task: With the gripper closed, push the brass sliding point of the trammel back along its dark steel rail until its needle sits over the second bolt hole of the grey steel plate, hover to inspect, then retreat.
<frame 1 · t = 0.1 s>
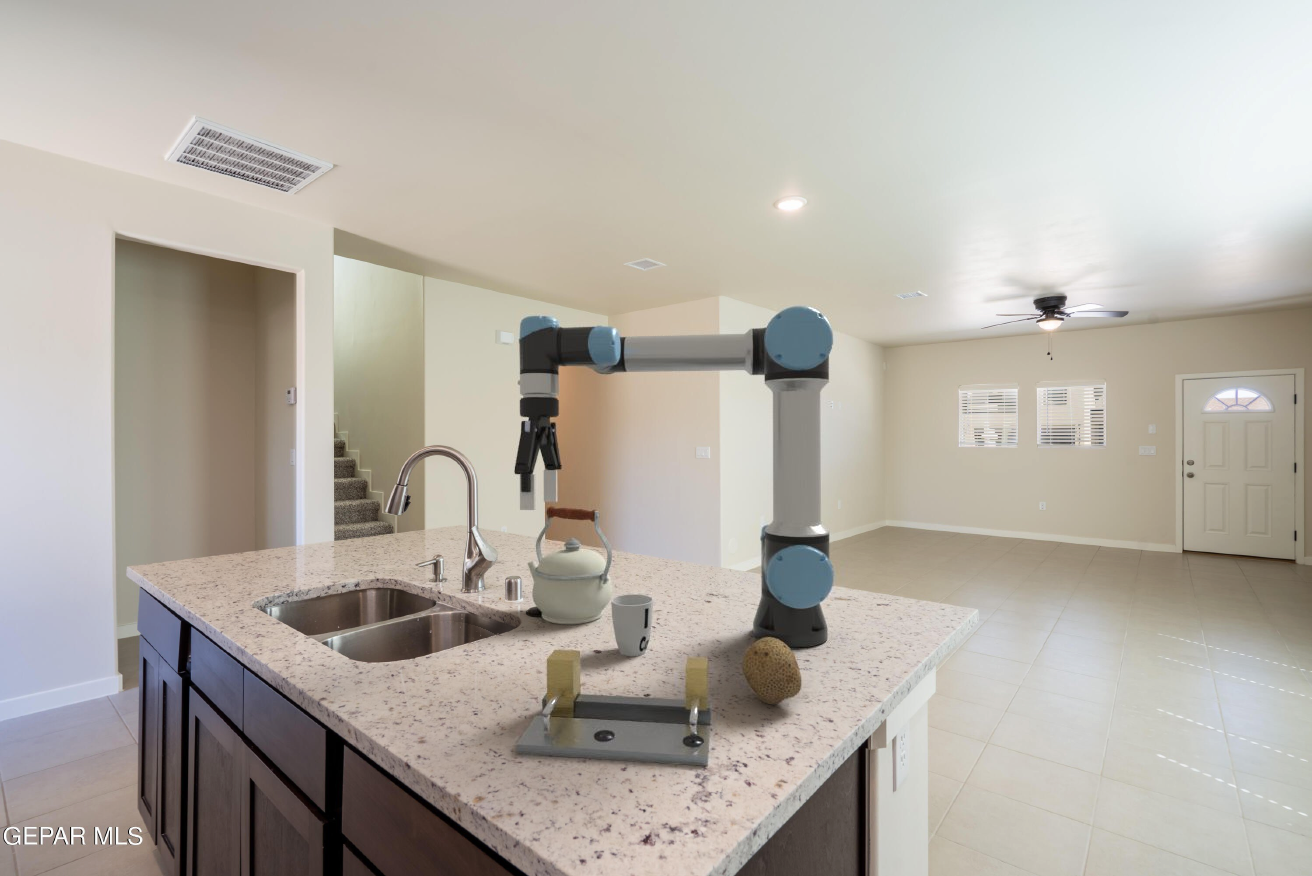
hand: (539, 505, 118), 28 cm above the worktop, fingers open, 13 cm apart
kettle: (567, 615, 140), on the worktop
sliding point: (557, 691, 87), point 5 cm above the worktop, slide at 8.0 cm
cup: (632, 652, 116), on the worktop
natural sponge: (770, 702, 94), on the worktop
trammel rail: (626, 716, 89), on the worktop
bolt plate: (615, 743, 81), on the worktop
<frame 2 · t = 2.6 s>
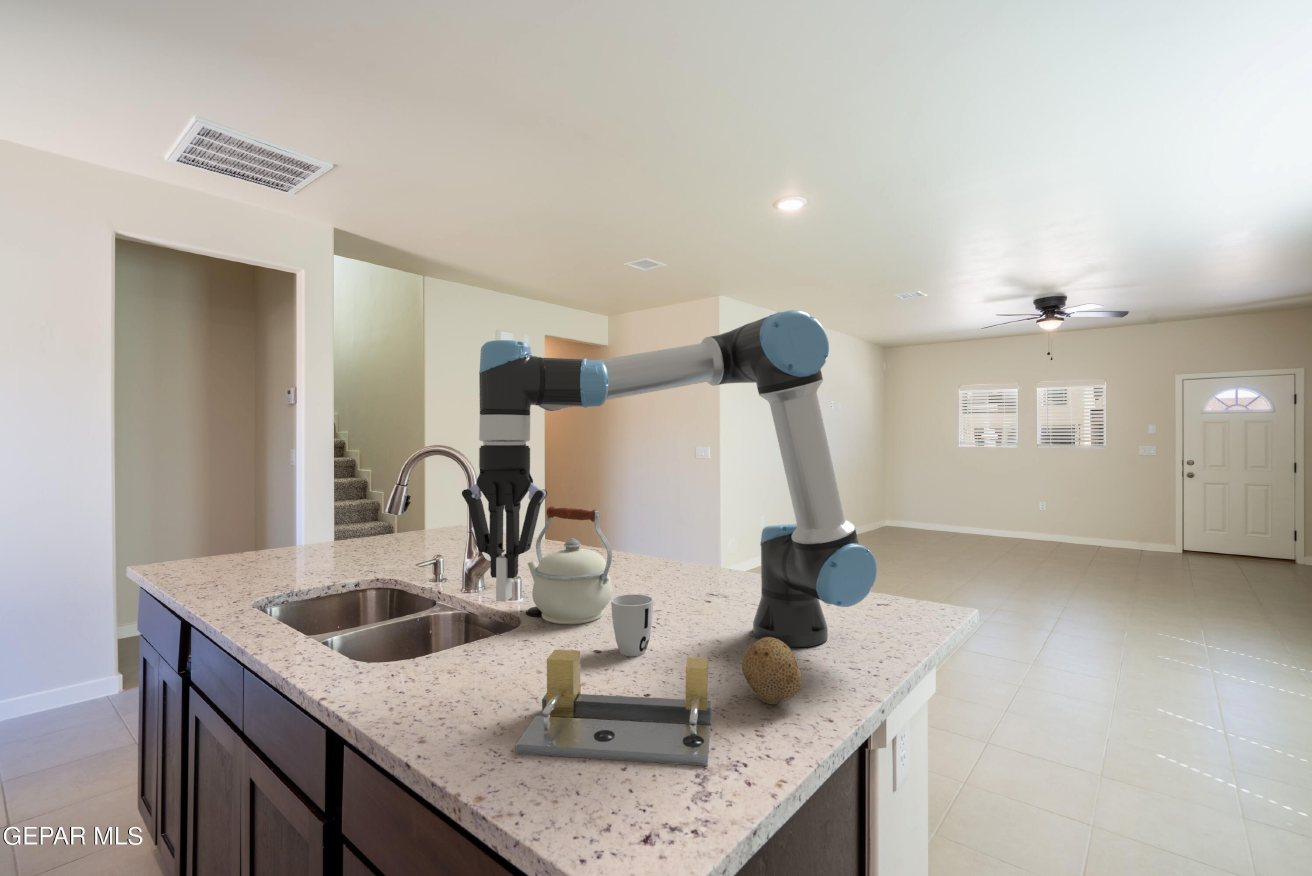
hand: (504, 598, 91), 17 cm above the worktop, fingers closed
nothing on the worktop moved.
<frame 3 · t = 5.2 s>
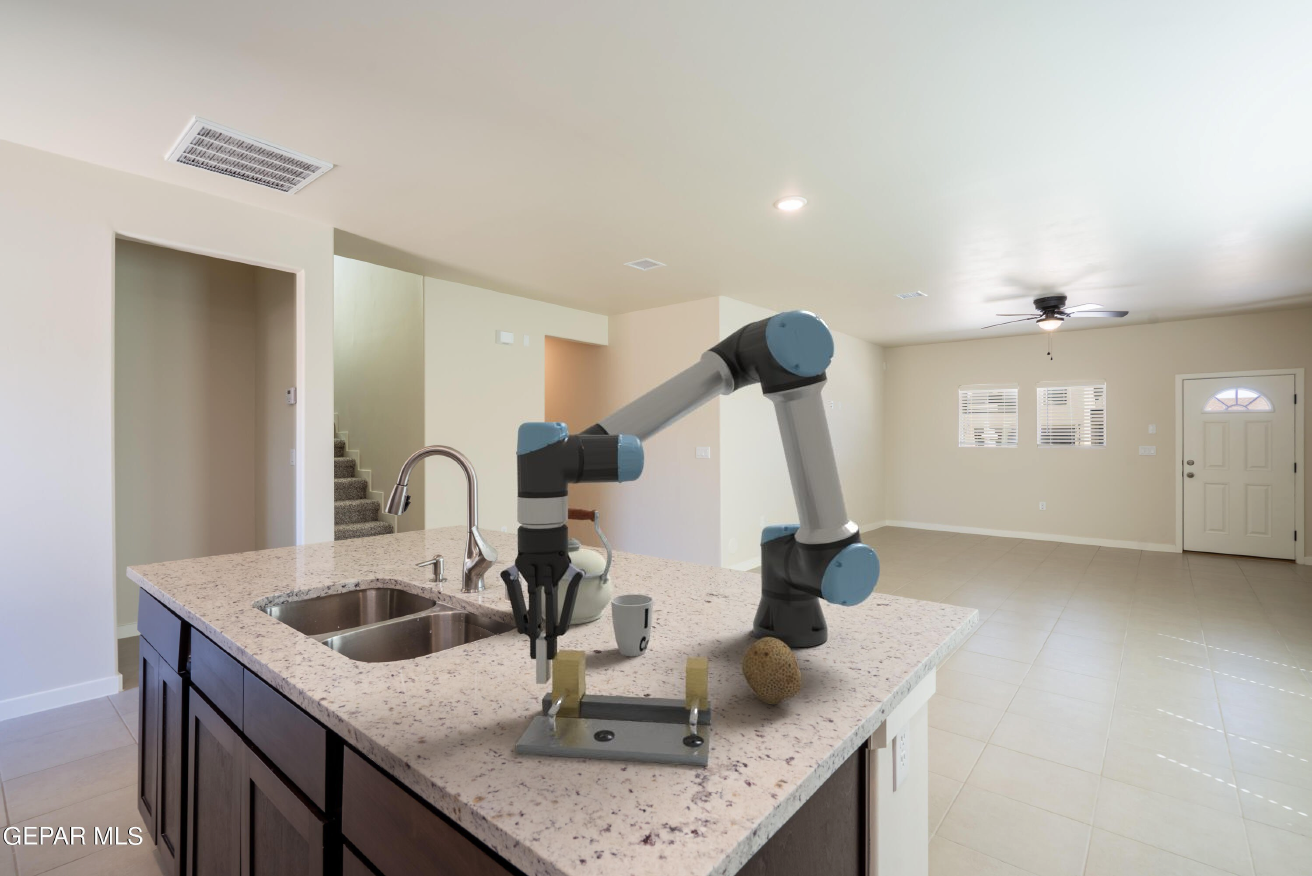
hand: (543, 679, 91), 5 cm above the worktop, fingers closed
sliding point: (562, 691, 87), point 5 cm above the worktop, slide at 7.2 cm, touching gripper
everything else where it was.
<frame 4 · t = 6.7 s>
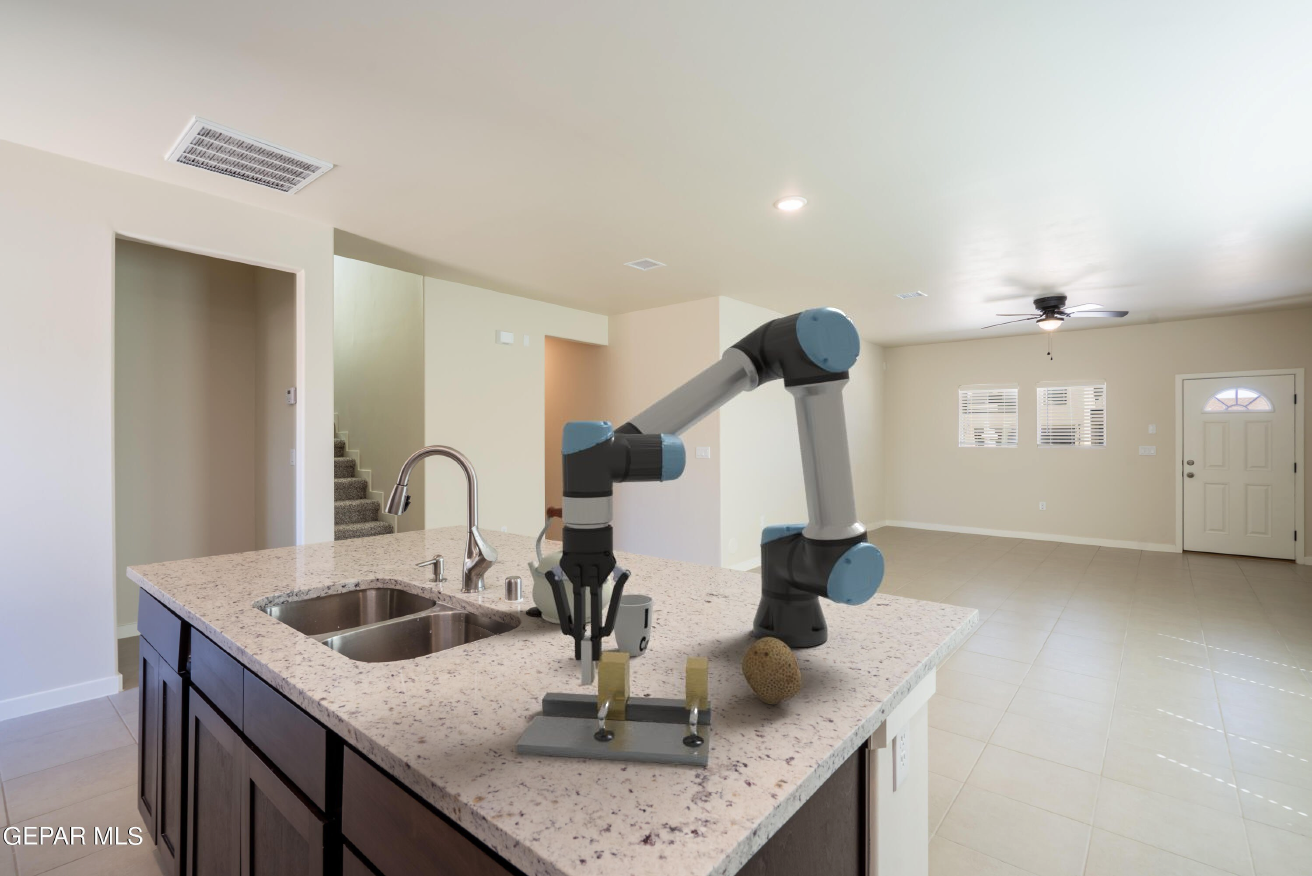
hand: (588, 681, 90), 5 cm above the worktop, fingers closed
sliding point: (609, 694, 86), point 5 cm above the worktop, slide at 0.3 cm, touching gripper
everything else where it was.
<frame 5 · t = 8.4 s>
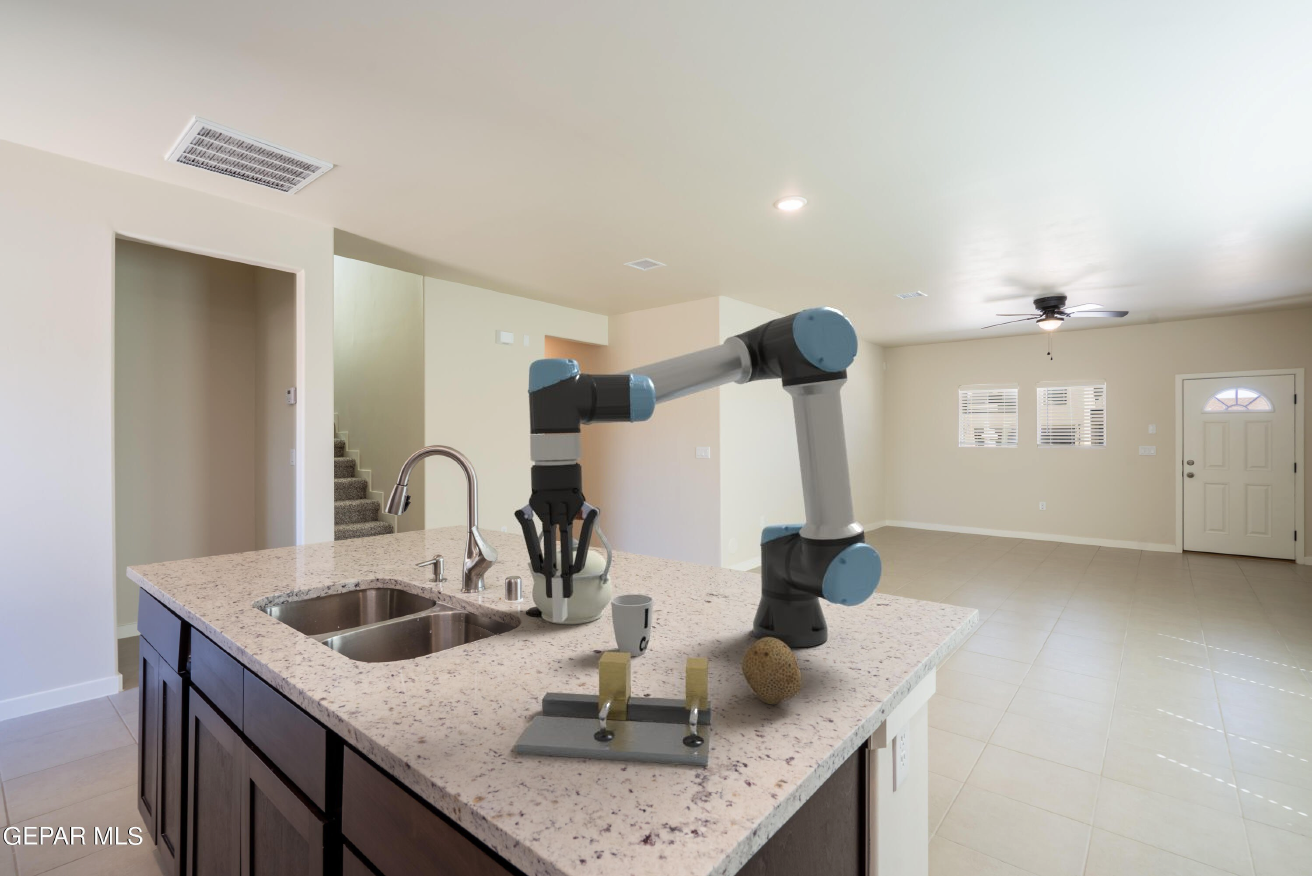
hand: (560, 618, 91), 14 cm above the worktop, fingers closed
sliding point: (610, 694, 86), point 5 cm above the worktop, slide at 0.2 cm
everything else where it was.
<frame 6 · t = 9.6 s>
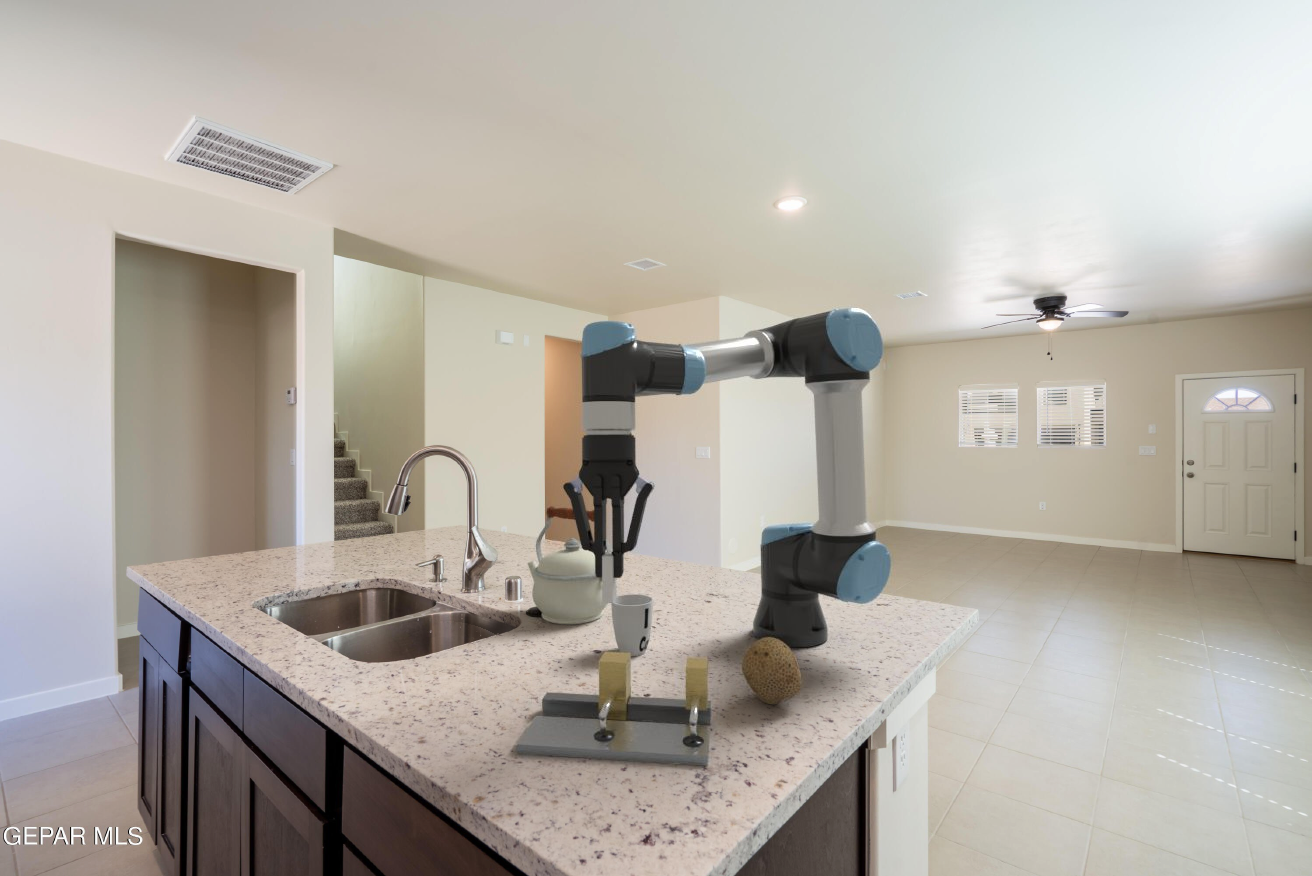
hand: (609, 600, 85), 18 cm above the worktop, fingers closed
nothing on the worktop moved.
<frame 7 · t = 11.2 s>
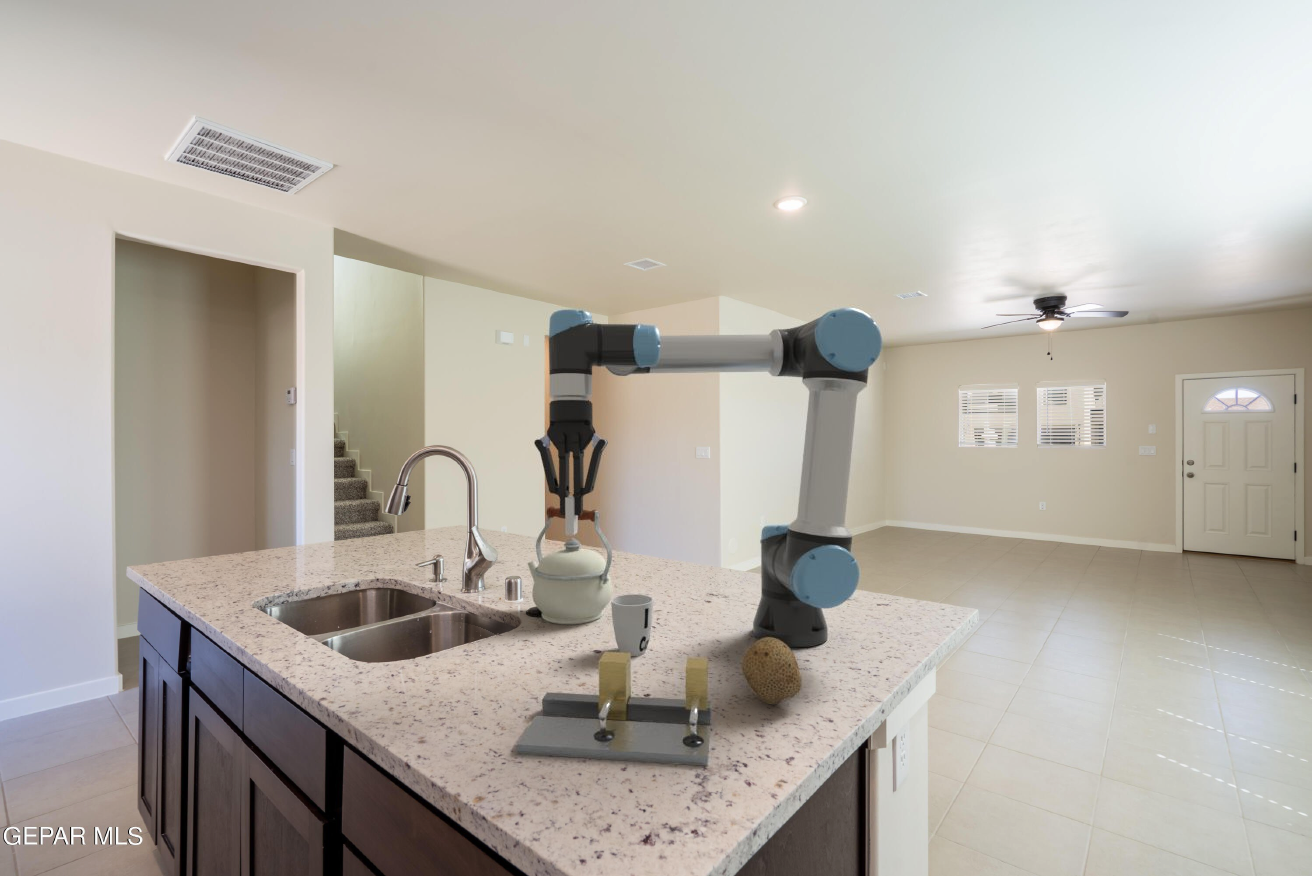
hand: (571, 533, 106), 24 cm above the worktop, fingers closed
nothing on the worktop moved.
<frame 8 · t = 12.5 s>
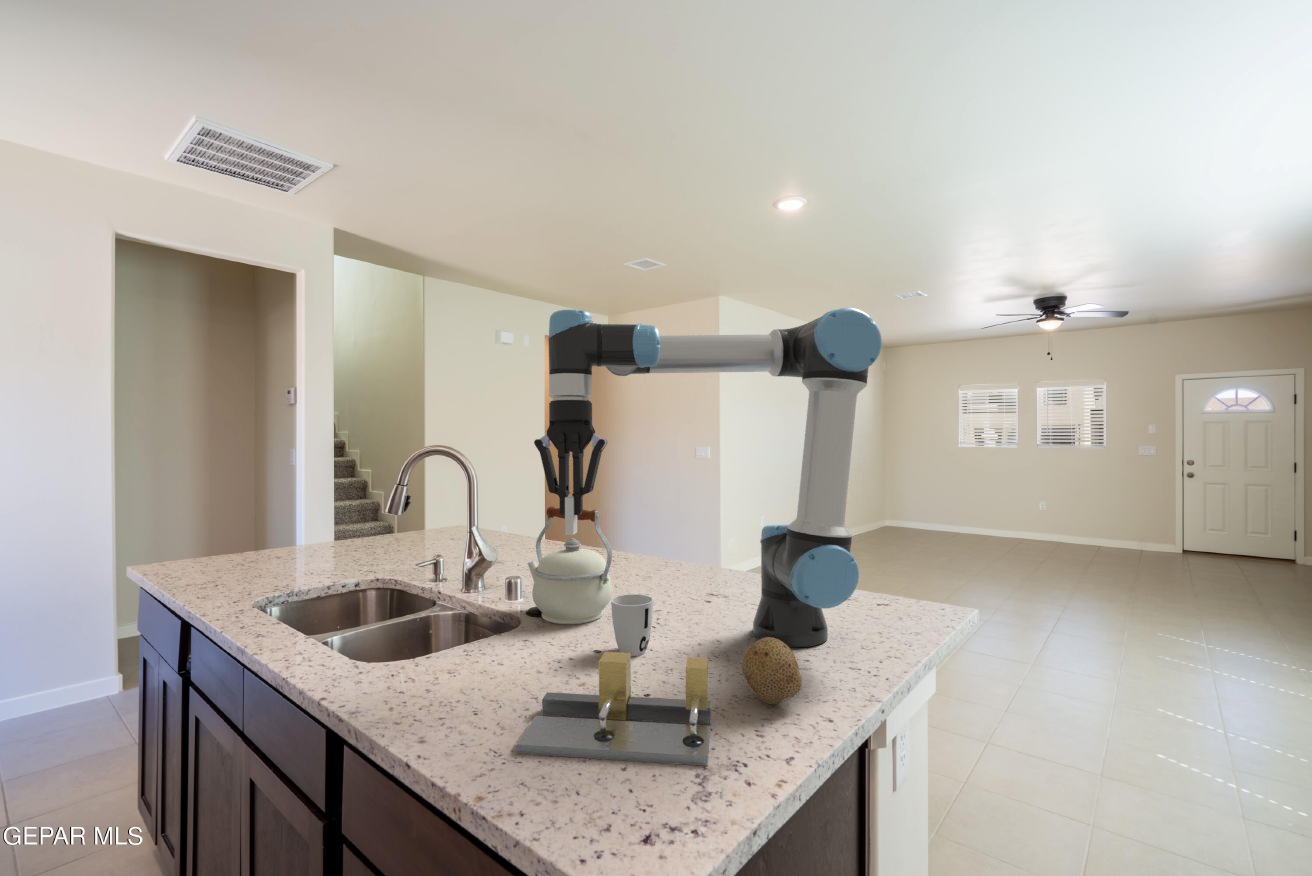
hand: (571, 533, 106), 24 cm above the worktop, fingers closed
nothing on the worktop moved.
at the end: sliding point slide at 0.2 cm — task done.
